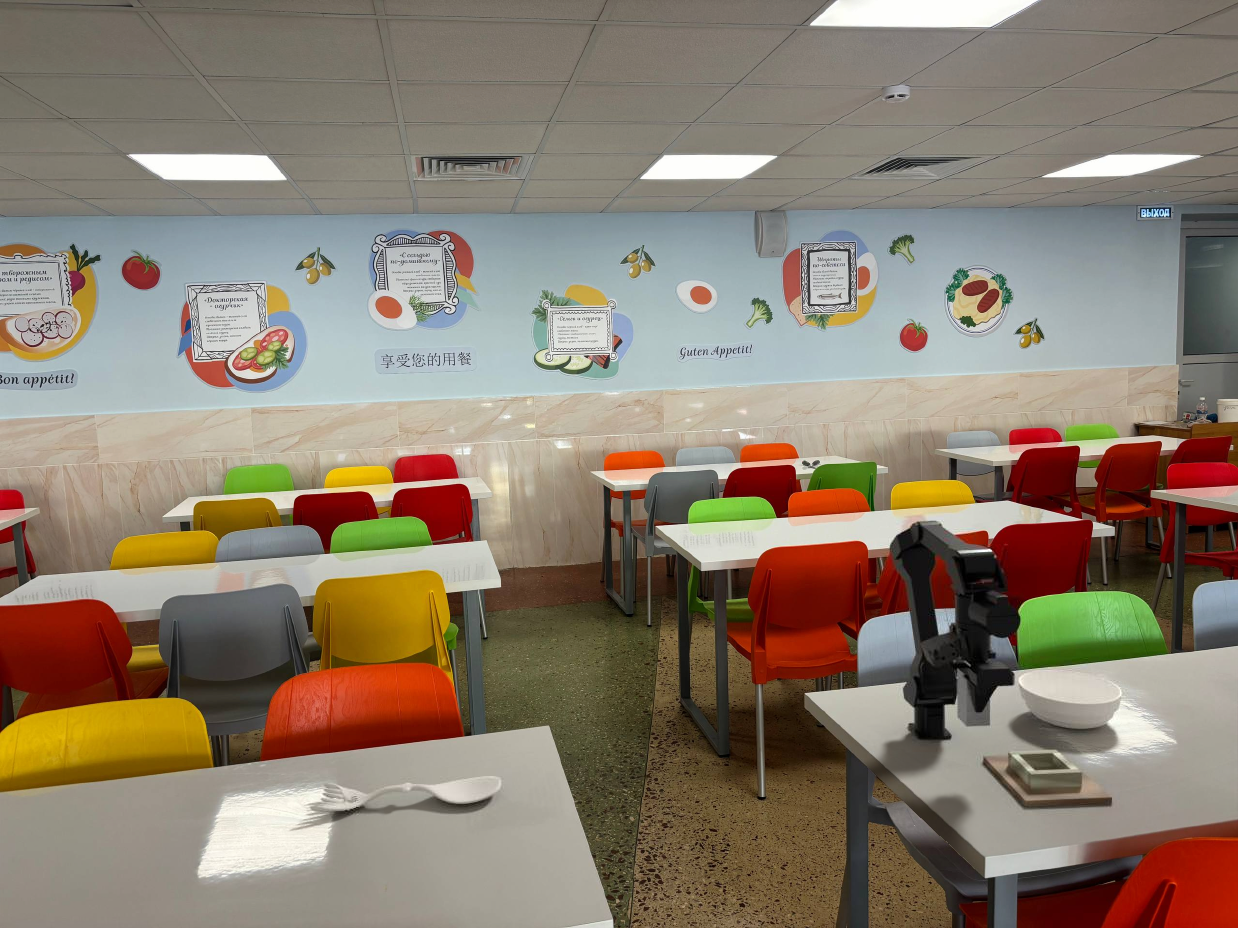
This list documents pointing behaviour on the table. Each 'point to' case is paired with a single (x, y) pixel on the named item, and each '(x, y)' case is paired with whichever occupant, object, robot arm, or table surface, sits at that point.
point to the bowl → (1070, 698)
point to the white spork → (448, 791)
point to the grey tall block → (969, 703)
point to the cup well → (1045, 779)
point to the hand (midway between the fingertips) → (973, 707)
